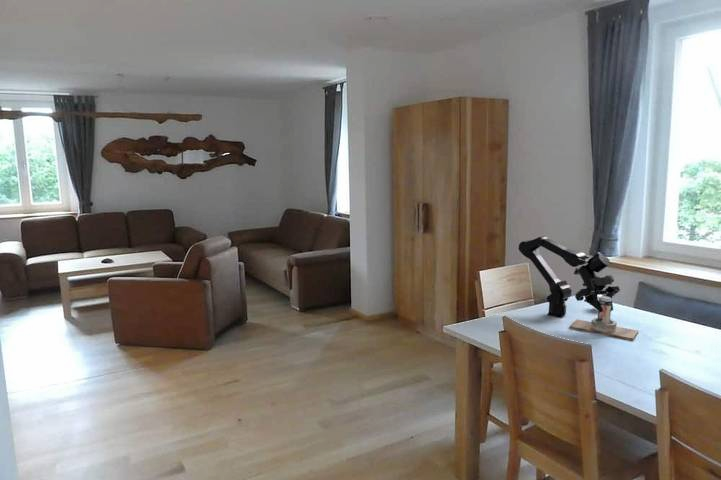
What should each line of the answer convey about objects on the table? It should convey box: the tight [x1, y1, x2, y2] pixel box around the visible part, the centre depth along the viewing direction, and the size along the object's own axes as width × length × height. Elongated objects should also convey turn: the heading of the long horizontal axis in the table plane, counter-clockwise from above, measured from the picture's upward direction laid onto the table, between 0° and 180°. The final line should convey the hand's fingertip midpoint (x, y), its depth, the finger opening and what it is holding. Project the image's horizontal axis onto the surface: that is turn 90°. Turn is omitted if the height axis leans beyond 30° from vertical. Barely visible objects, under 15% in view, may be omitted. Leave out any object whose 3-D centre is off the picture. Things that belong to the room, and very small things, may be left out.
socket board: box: [569, 317, 639, 342], centre depth 211 cm, size 24×11×4 cm, turn 52°
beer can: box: [597, 296, 613, 324], centre depth 210 cm, size 5×5×12 cm
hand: (607, 311), depth 209 cm, fingers closed on beer can, 5 cm apart
